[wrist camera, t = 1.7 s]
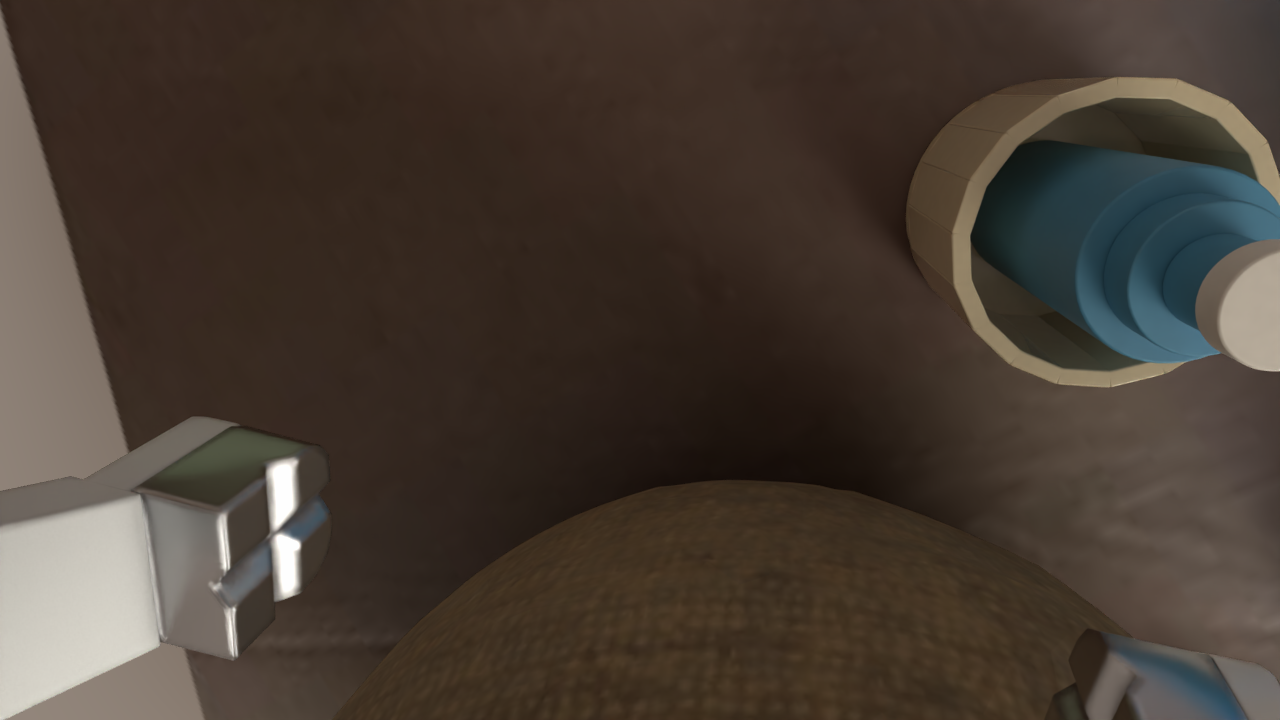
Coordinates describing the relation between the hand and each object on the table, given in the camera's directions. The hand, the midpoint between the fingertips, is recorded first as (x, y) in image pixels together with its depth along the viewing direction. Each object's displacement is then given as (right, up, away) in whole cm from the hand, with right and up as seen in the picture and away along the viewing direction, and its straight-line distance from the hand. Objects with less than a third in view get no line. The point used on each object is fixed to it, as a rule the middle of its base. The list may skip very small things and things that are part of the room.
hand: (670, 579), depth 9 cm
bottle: (+15, +8, +24) cm, 30 cm away
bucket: (+15, +9, +25) cm, 31 cm away
